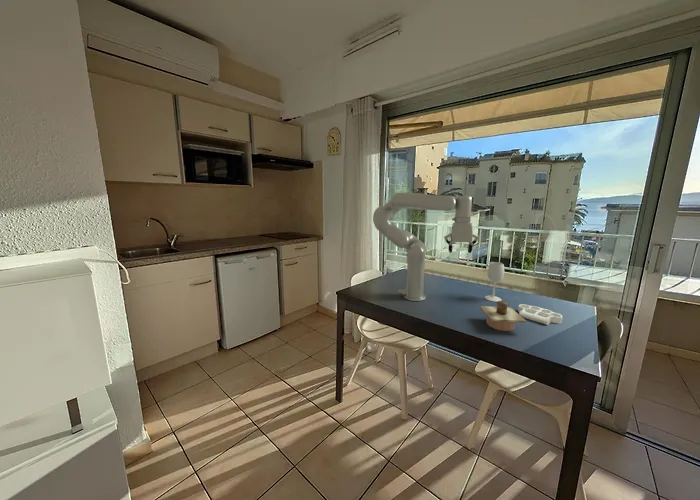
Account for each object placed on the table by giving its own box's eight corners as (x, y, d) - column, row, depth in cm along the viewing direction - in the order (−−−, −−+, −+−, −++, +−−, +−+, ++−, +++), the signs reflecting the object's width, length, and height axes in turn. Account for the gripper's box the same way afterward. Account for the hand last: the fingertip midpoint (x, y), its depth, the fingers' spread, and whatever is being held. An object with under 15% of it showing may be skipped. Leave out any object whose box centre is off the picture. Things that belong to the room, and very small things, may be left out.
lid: (491, 320, 114) (492, 308, 113) (479, 307, 128) (480, 296, 127) (525, 322, 113) (527, 309, 111) (510, 308, 126) (511, 297, 125)
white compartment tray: (511, 315, 131) (522, 307, 140) (555, 329, 118) (564, 319, 126) (511, 309, 131) (523, 301, 140) (556, 322, 117) (565, 313, 126)
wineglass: (495, 303, 145) (499, 266, 141) (481, 297, 153) (484, 262, 149) (505, 300, 149) (509, 264, 145) (490, 295, 157) (494, 260, 153)
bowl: (492, 330, 116) (493, 319, 115) (483, 318, 127) (484, 309, 126) (519, 331, 115) (520, 320, 114) (507, 319, 126) (508, 310, 125)
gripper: (446, 220, 135) (444, 253, 139) (482, 221, 133) (479, 254, 137) (443, 219, 143) (441, 250, 146) (477, 219, 140) (474, 251, 144)
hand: (459, 252), depth 141 cm, fingers open, 9 cm apart
